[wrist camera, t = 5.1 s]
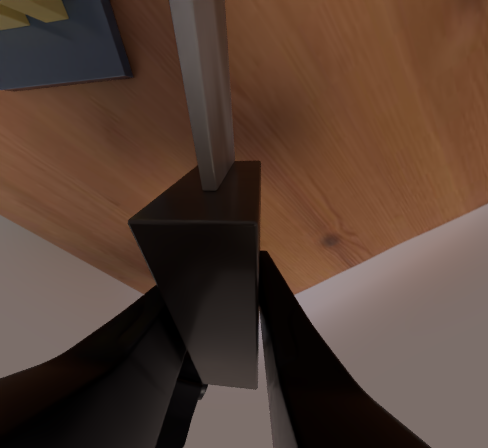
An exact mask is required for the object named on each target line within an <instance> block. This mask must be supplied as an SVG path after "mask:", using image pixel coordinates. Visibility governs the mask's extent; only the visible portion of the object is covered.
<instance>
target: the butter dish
mask: <svg viewBox="0 0 488 448" xmlns="http://www.w3.org/2000/svg"><path fill="white" fill-rule="evenodd" d="M62 2H63V5H64V7H65V10H66V12H67V15H68V17H69V19H66V20H60V21H53V22H47V23H46V22H43V21H41V20H38V19H36V18H33V17H31V16H29V15H26V14H25V15H26V17H27V19H28V21H29V23H30V26H24V27H18V28H11V29H5V30H0V90H4V91H22V90H31V89H40V88H49V87H58V86H67V85H76V84H85V83H94V82H103V81H112V80H121V79H130V78H134V77H133V74H132V70H131V67H130V64H129V61H128V58H127V54H126V51H125V48H124V45H123V42H122V39H121V35H120V32H119V29H118V26H117V23H116V20H115V16H114V13H113V10H112V7H111V4H110V0H62Z"/></svg>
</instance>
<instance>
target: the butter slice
mask: <svg viewBox="0 0 488 448" xmlns="http://www.w3.org/2000/svg"><path fill="white" fill-rule="evenodd" d="M0 4H2V5H4V6H7V7H9V8H12V9H14V10H16V11H19V12H21V13H24V14H26V15H29V16H31V17H33V18H36V19H38V20H41V21H43V22H46V23H47V22H53V21H60V20H66V19H69V17H68V15H67V12H66V10H65V7H64V5H63V2H62V0H0Z"/></svg>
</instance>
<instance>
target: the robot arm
mask: <svg viewBox="0 0 488 448" xmlns="http://www.w3.org/2000/svg"><path fill="white" fill-rule="evenodd" d="M259 310H260V319H261V330H262V340H263V349H264V359H265V369H266V379H267V390H268V399H269V409H270V419H271V429H272V439H273V448H431V447H430V446H429V445H427V444H426V443H425V442H424V441H423V440H422V439H420V438H419V437H418V436H417V435H415V434H414V433H413V432H412V431H411V430H409V429H408V428H407V427H406V426H405V425H403V424H402V423H401V422H400V421H399V420H397V419H396V418H395V417H393V416H392V415H391V414H390V413H389V412H387V411H386V410H385V409H384V408H383V407H382V406H380V405H379V404H378V403H377V402H376V401H374V400H373V399H372V398H371V397H370V396H369V395H368V394H367V393H366V392H365V391H364V390H363V389H362V388H361V387H360V386H359V385H358V383H357V382H356V381H355V380H354V379H353V378H352V376H351V375H350V374H349V372H348V371H347V370H346V368H345V367H344V366H343V365H342V363H341V362H340V361H339V359H338V358H337V357H336V355H335V354H334V353H333V352H332V350H331V349H330V348H329V346H328V345H327V344H326V343H325V341H324V340H323V338H322V337H321V336H320V334H319V333H318V332H317V330H316V329H315V328H314V326H313V325H312V323H311V322H310V320H309V319H308V317H307V316H306V314H305V312H304V311H303V309H302V307H301V306H300V305H299V303H298V301H297V300H296V298H295V296H294V294H293V293H292V291H291V290H290V288H289V286H288V285H287V283H286V281H285V280H284V278H283V276H282V275H281V273H280V272H279V270H278V268H277V267H276V265H275V263H274V262H273V260H272V258H271V257H270V255H269V253H268V252H267V251H260V266H259ZM207 386H208V384H203V383H202V381H201V378H200V376H199V374H198V372H197V370H196V368H195V366H194V363H193V361H192V359H191V357H190V355H189V353H188V351H187V349H186V346H185V344H184V342H183V340H182V338H181V336H180V334H179V331H178V329H177V327H176V325H175V323H174V321H173V319H172V317H171V314H170V312H169V310H168V308H167V306H166V304H165V302H164V300H163V297H162V295H161V293H160V291H159V289H158V287H157V285H155V286H154V287H153V288H151V289H150V290H149V291H148V292H147V293H145V294H144V295H143V296H142V297H140V298H139V299H138V300H137V301H135V302H134V303H133V304H131V305H130V306H129V307H128V308H127V309H125V310H124V311H122V312H121V313H120V314H118V315H117V316H116V317H114V318H113V319H112V320H110V321H109V322H107V323H106V324H104V325H103V326H102V327H100V328H99V329H97V330H96V331H95V332H93V333H92V334H91V335H89V336H87V337H86V338H85V339H83V340H82V341H80V342H79V343H77V344H76V345H75V346H73V347H72V348H70V349H69V350H67V351H66V352H64V353H62V354H61V355H59V356H57V357H55V358H53V359H51V360H49V361H47V362H45V363H42V364H40V365H37V366H34V367H31V368H28V369H26V370H23V371H20V372H17V373H14V374H12V375H9V376H6V377H3V378H0V448H183V447H184V445H185V442H186V438H187V434H188V431H189V427H190V423H191V419H192V416H193V413H194V410H195V407H196V404H197V401H198V400H201V399H202V397H203V396H204V394H205V392H206V389H207Z"/></svg>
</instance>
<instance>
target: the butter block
mask: <svg viewBox="0 0 488 448" xmlns="http://www.w3.org/2000/svg"><path fill="white" fill-rule="evenodd" d="M24 26H30V23H29V21H28V19H27V17H26V15H25V14H24V13H21V12H19V11H16V10H14V9H12V8H9V7H7V6H4V5H2V4H0V30H5V29H11V28H18V27H24Z"/></svg>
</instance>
